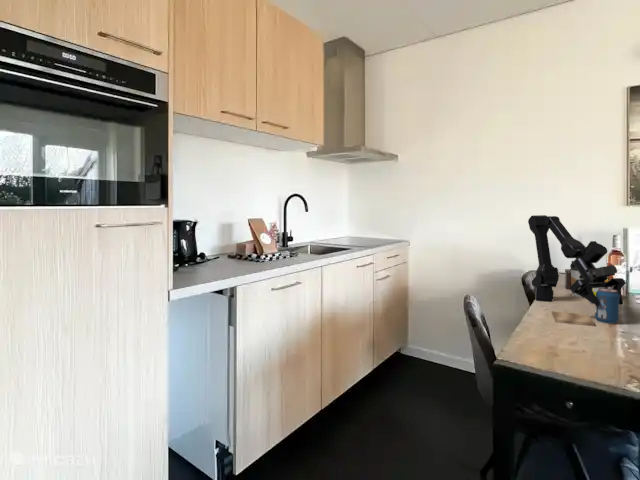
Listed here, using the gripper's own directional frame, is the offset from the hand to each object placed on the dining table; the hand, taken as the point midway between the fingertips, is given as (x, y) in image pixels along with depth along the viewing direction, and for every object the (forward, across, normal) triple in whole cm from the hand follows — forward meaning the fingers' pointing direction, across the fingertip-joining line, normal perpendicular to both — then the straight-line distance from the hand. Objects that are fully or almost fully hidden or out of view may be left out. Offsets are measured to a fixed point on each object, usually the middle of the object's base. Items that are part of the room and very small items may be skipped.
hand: (610, 304), depth 137 cm
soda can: (+4, 0, +6) cm, 7 cm away
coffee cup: (-23, +21, +32) cm, 45 cm away
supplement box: (-14, +20, +24) cm, 34 cm away
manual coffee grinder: (-36, +35, +45) cm, 67 cm away
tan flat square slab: (+1, -10, +9) cm, 14 cm away
